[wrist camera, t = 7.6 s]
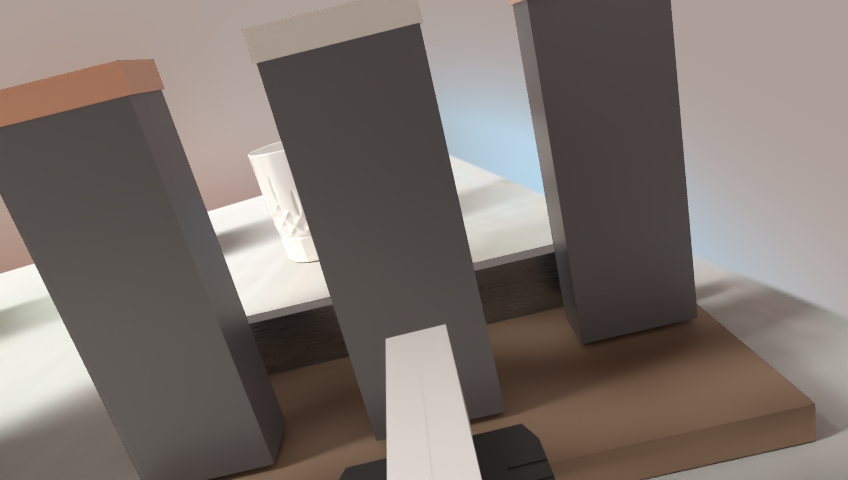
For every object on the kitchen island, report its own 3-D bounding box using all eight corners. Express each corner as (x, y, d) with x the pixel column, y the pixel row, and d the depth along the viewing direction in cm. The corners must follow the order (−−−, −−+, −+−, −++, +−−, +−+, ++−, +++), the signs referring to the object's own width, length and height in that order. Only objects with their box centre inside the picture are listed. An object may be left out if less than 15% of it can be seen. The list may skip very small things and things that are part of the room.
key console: (815, 440, 19) (814, 323, 17) (114, 596, 20) (57, 496, 18) (664, 300, 30) (655, 220, 28) (213, 404, 30) (182, 331, 29)
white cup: (331, 230, 57) (302, 133, 54) (384, 234, 52) (355, 126, 49) (267, 262, 52) (230, 157, 49) (317, 270, 47) (279, 153, 44)
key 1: (700, 317, 24) (668, -69, 19) (580, 345, 24) (519, -31, 19) (672, 292, 27) (637, -55, 22) (563, 318, 27) (505, -22, 22)
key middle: (508, 412, 21) (415, -15, 16) (373, 442, 21) (242, 29, 17) (496, 374, 24) (412, -6, 19) (375, 402, 24) (262, 31, 19)
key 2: (276, 464, 21) (117, 60, 17) (144, 494, 22) (-50, 102, 17) (288, 422, 24) (153, 59, 19) (170, 449, 24) (7, 95, 19)
